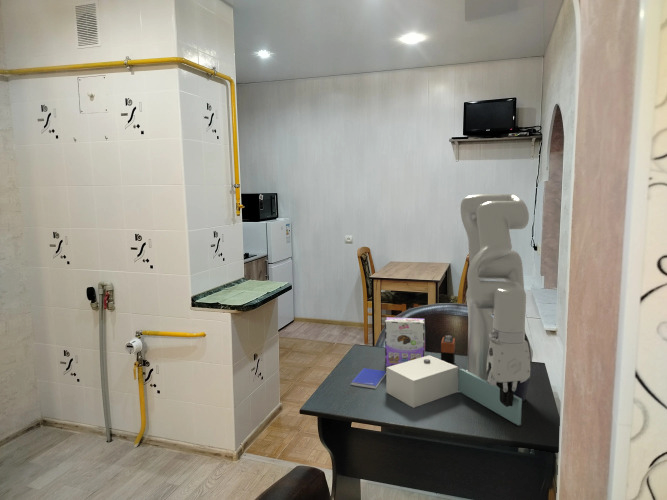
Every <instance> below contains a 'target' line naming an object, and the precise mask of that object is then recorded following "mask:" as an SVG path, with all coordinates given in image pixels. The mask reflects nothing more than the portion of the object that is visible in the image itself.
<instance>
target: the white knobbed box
mask: <svg viewBox="0 0 667 500" xmlns="http://www.w3.org/2000/svg"><path fill="white" fill-rule="evenodd" d="M385 368H386V370H385V371H386V375H385V376H386V381H385V383H386V388H385V390H386V393H387V394H389V395H390V396H392V397H394V398H395V399H397V400H399V401H400V402H403V403H404V404H406V405H407V406H410V407H412V408H413V409H414V408H417V407H419V406H422V405H425V404H428V403H430V402H434V401H436V400H439V399H442V398H444V397H447V396H450V395H453V394H455V393H458V371H459V367H458V366H457V365H455V364H454V365H452V364H450V363H447V362H445V361H442V360H441V358H437V357H435V356H432V355H430V354H429V355H426V356H425V357H421V358H418V359H414V360H411V361H407V362H404V363H400V364H397V365H393V366H385Z"/></svg>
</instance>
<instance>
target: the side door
mask: <svg viewBox="0 0 667 500" xmlns="http://www.w3.org/2000/svg"><path fill="white" fill-rule="evenodd" d="M466 370H467V369H464V368H463V367H458V390H457V392H459V393H461V394H463V395H465V396H466V397H468V398H470V399H471V400H473V401H475V402H477V403H479V404H480V405H481V406H484V407H486V408H487V409H489V410H491V411H492V412H494V413H496V414H498V415H499V416H501V417H503V418H504V419H506V420H508V421H509V422H511V423H513V424H515V425H517V426H521V425H522V405H523V401H522V399H521V398H519V397H517V396H515V395H514V396H513V406H509V407H506V406H505V405H503V404H502V403H501V402H500V388H498V386H495V385H490V384H489V383H488V382H487V381H486V380H484V379H482V378H480V377H478V376H476V375H474V374H472V373H470V372H468V371H466Z"/></svg>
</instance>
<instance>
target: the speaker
mask: <svg viewBox="0 0 667 500" xmlns="http://www.w3.org/2000/svg"><path fill="white" fill-rule="evenodd" d="M530 378H531V376H530V377H529V378H528V379H527V380H526V381H524V382H521V383H519V385H518V386H517V387H516V390H515V391H514V395H515V396H517V397H519V398H521V399H522V402H525V401H526V397H527V393H528V387H529V381H530Z"/></svg>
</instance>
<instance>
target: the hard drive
mask: <svg viewBox="0 0 667 500" xmlns="http://www.w3.org/2000/svg"><path fill="white" fill-rule="evenodd" d="M385 376H386V370H379V369H373V368H372V369H371V368H365V367H363V369H361V370H360V372H359V373H358V374H357V375H356V376H355V378H353V379H352V381H351V382H350V385H351V386H356V387H363V388H370V389H376V388H377V387H378V386H379V385H380V384H381V382H382V380H383V379H384V378H385Z"/></svg>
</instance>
